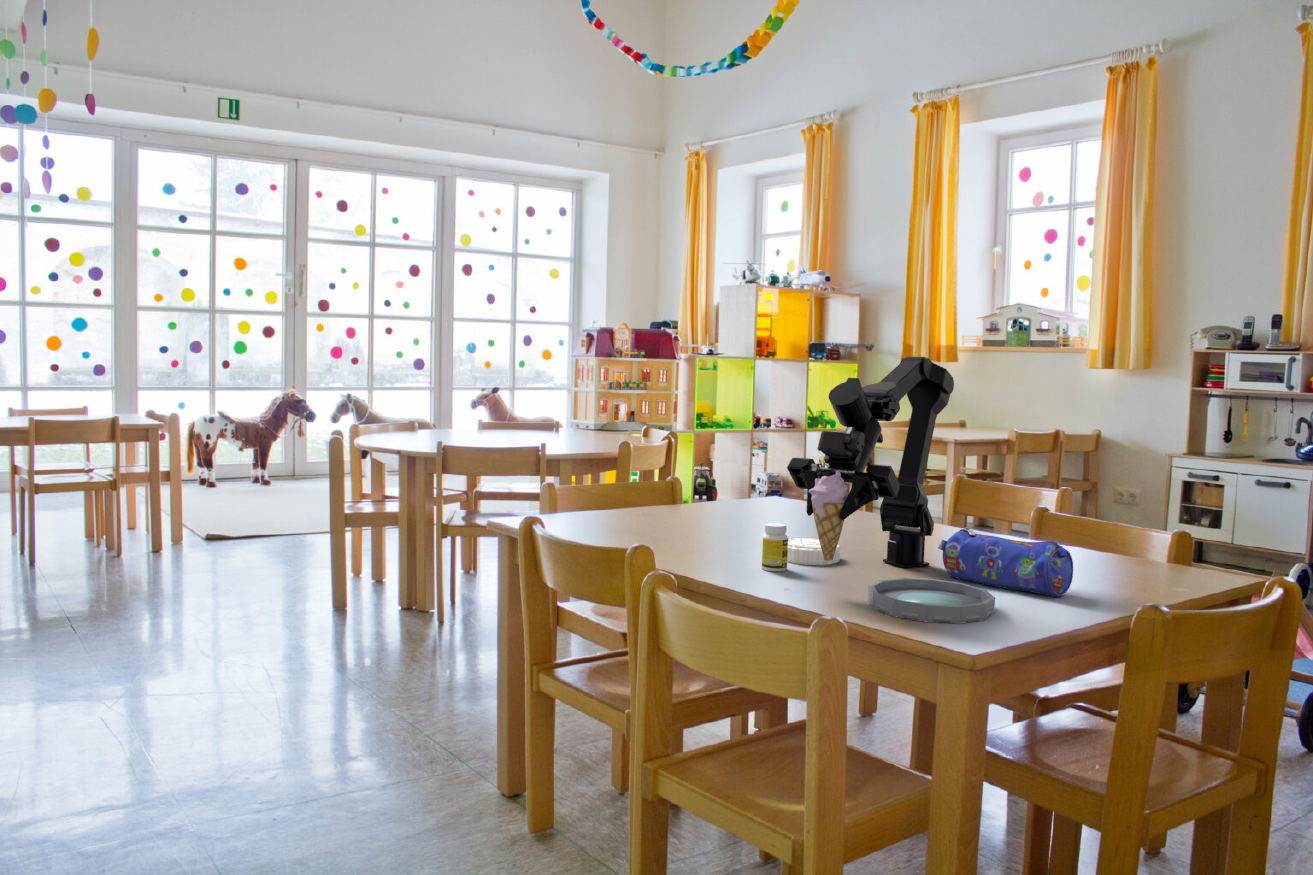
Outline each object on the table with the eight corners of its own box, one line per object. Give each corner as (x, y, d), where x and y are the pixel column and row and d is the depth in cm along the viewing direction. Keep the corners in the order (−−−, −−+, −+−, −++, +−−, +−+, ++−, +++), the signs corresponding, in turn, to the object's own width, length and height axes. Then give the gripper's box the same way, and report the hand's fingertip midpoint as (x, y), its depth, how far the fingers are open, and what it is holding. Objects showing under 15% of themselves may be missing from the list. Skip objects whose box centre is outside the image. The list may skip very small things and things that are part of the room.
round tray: (934, 589, 167) (934, 574, 166) (1019, 615, 150) (1020, 600, 149) (844, 598, 158) (845, 583, 158) (924, 628, 141) (924, 611, 141)
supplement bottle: (786, 572, 177) (787, 527, 177) (760, 571, 178) (761, 526, 177) (787, 567, 182) (789, 523, 181) (762, 565, 183) (764, 521, 182)
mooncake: (844, 567, 184) (845, 548, 184) (781, 565, 185) (782, 546, 185) (834, 554, 196) (835, 537, 196) (775, 553, 197) (776, 535, 197)
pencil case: (935, 579, 175) (937, 527, 175) (959, 573, 181) (962, 522, 181) (1054, 603, 159) (1057, 545, 159) (1076, 595, 165) (1079, 540, 164)
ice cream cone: (837, 565, 156) (840, 474, 155) (801, 561, 160) (803, 471, 158) (851, 558, 162) (854, 470, 161) (816, 554, 165) (818, 467, 164)
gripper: (793, 411, 168) (758, 480, 160) (895, 416, 156) (862, 491, 148) (814, 453, 174) (781, 521, 167) (912, 461, 163) (882, 534, 155)
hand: (824, 516), depth 159 cm, fingers closed on ice cream cone, 6 cm apart
